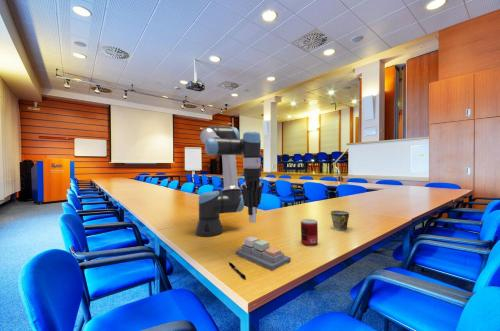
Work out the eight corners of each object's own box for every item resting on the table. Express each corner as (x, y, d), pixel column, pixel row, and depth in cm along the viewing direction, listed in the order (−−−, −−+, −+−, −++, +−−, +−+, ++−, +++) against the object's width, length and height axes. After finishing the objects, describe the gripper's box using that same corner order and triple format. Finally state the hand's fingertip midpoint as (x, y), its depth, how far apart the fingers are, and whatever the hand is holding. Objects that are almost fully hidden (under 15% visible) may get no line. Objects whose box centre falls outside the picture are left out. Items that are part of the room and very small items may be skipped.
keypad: (235, 254, 94) (235, 245, 94) (253, 247, 101) (253, 239, 101) (272, 270, 78) (271, 260, 78) (290, 261, 86) (290, 252, 86)
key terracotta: (264, 256, 85) (264, 250, 85) (272, 253, 88) (272, 247, 88) (273, 259, 82) (273, 253, 82) (281, 256, 85) (281, 250, 85)
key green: (254, 248, 90) (253, 242, 90) (261, 245, 93) (261, 239, 93) (261, 251, 86) (261, 245, 86) (269, 248, 89) (269, 242, 90)
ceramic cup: (328, 226, 133) (328, 210, 133) (345, 226, 132) (345, 210, 132) (336, 233, 120) (336, 215, 120) (354, 233, 119) (354, 215, 119)
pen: (247, 281, 73) (248, 277, 73) (243, 280, 72) (244, 277, 72) (231, 264, 85) (232, 261, 85) (227, 264, 84) (228, 261, 84)
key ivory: (244, 244, 94) (244, 238, 94) (251, 241, 97) (251, 236, 97) (251, 247, 91) (251, 241, 91) (258, 244, 94) (258, 238, 94)
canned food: (319, 242, 106) (319, 220, 106) (314, 247, 99) (314, 223, 100) (304, 239, 110) (304, 218, 110) (298, 244, 104) (298, 221, 104)
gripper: (246, 168, 86) (247, 227, 87) (268, 167, 95) (268, 220, 96) (234, 168, 92) (235, 223, 92) (256, 167, 101) (256, 217, 101)
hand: (252, 221), depth 94 cm, fingers closed
